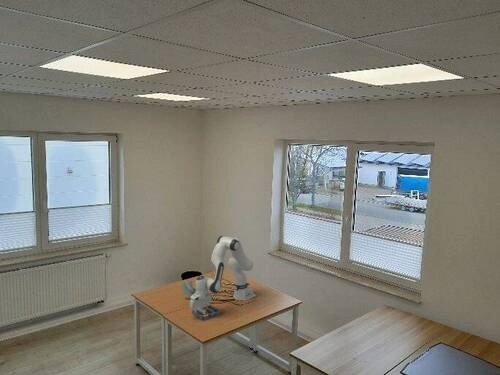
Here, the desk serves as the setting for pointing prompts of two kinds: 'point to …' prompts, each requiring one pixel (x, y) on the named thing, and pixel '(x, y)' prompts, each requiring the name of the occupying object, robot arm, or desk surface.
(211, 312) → the rack
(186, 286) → the bracket
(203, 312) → the panel
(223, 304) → the desk surface
